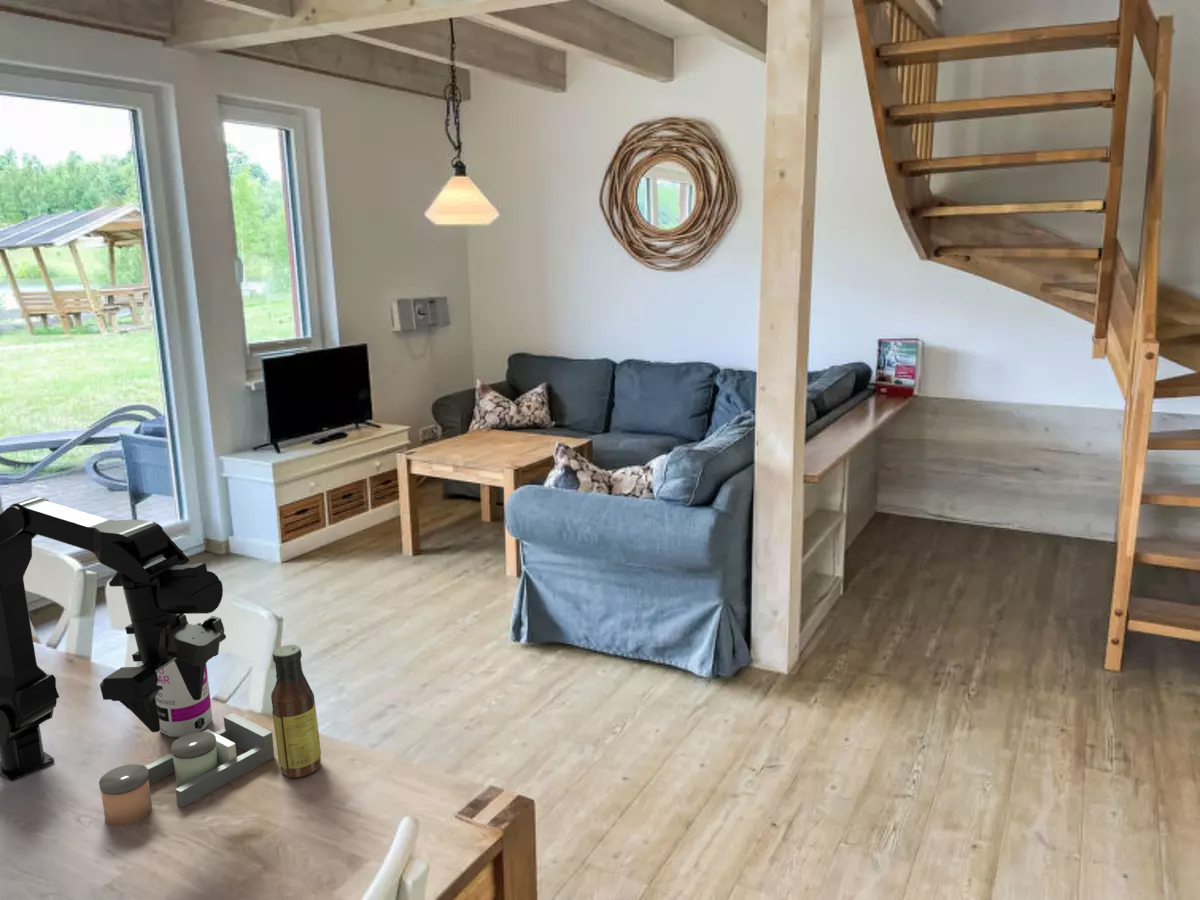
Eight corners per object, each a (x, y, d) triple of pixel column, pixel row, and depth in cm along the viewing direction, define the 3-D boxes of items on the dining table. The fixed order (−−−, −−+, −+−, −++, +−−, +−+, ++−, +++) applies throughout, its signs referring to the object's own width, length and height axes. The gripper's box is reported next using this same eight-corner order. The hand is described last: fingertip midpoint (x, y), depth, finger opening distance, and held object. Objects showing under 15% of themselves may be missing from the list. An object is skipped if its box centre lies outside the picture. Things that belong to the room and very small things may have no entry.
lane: (142, 783, 137) (139, 757, 136) (234, 736, 149) (232, 712, 148) (182, 807, 131) (178, 780, 130) (274, 757, 144) (272, 732, 143)
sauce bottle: (330, 761, 143) (320, 644, 138) (305, 783, 137) (294, 662, 132) (295, 753, 145) (284, 638, 140) (269, 775, 139) (257, 655, 134)
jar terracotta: (95, 816, 129) (90, 779, 128) (138, 794, 134) (133, 759, 133) (118, 832, 126) (113, 795, 125) (161, 809, 131) (156, 773, 129)
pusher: (203, 757, 143) (200, 732, 142) (210, 754, 144) (207, 729, 143) (230, 772, 139) (228, 746, 138) (237, 768, 140) (235, 743, 139)
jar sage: (167, 779, 138) (162, 745, 136) (204, 760, 143) (200, 727, 141) (190, 793, 134) (186, 758, 133) (227, 773, 139) (224, 739, 138)
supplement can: (221, 714, 156) (212, 634, 153) (196, 740, 148) (186, 656, 145) (176, 712, 157) (166, 632, 154) (149, 738, 149) (138, 654, 146)
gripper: (158, 638, 116) (185, 749, 119) (242, 585, 134) (263, 683, 137) (84, 641, 119) (112, 750, 122) (176, 589, 136) (198, 685, 140)
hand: (177, 715), depth 130 cm, fingers open, 9 cm apart
